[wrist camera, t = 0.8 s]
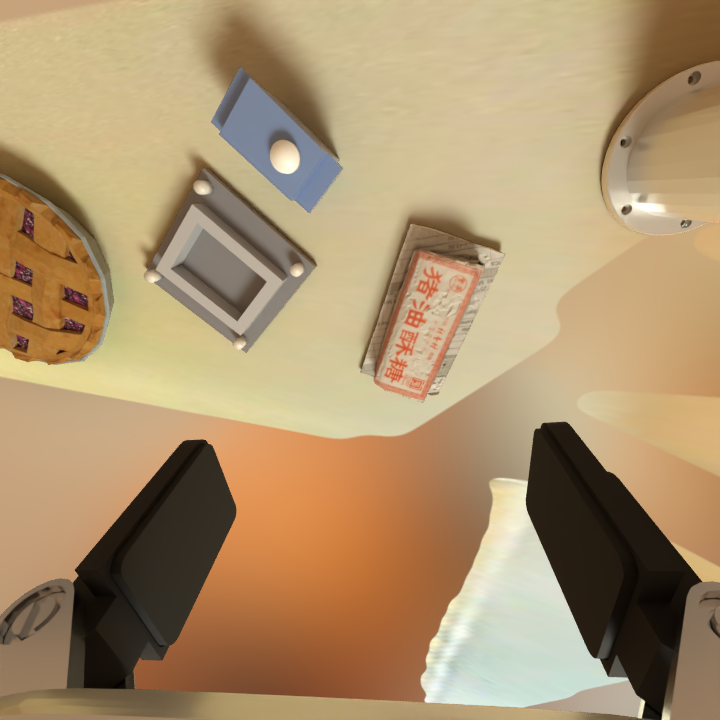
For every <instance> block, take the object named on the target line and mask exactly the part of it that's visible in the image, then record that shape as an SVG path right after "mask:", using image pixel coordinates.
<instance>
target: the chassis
mask: <svg viewBox="0 0 720 720" xmlns="http://www.w3.org/2000/svg"><path fill="white" fill-rule="evenodd" d="M316 266H317V265H316V264H315V263H314V262H313V261H312V260H310V259H309V258H308V257H307V256H306V255H305V254H304V253H303V252H301V251H300V250H299V249H298V248H297V247H296V246H295V245H294V244H292V243H291V242H290V241H289V240H288V239H287V238H286V237H285V236H283V235H282V234H281V233H280V232H279V231H278V230H277V229H276V228H274V227H273V226H272V225H271V224H270V223H269V222H268V221H267V220H265V219H264V218H263V217H262V216H261V215H260V214H259V213H258V212H256V211H255V210H254V209H253V208H252V207H251V206H250V205H249V204H247V203H246V202H245V201H244V200H243V199H242V198H241V197H240V196H238V195H237V194H236V193H235V192H234V191H233V190H232V189H231V188H229V187H228V186H227V185H226V184H225V183H224V182H223V181H222V180H220V179H219V178H218V177H217V176H216V175H215V174H214V173H213V172H211V171H210V170H209V169H207V168H203V169H202V171H201V173H200V175H199V176H198V178H197V180H196V181H195V183H194V186H193V187H192V189H191V191H190V193H189V195H188V196H187V198H186V200H185V202H184V204H183V206H182V207H181V209H180V211H179V213H178V215H177V216H176V218H175V220H174V222H173V224H172V226H171V227H170V229H169V231H168V233H167V235H166V237H165V238H164V240H163V242H162V244H161V246H160V247H159V249H158V251H157V253H156V255H155V257H154V258H153V260H152V262H151V264H150V266H149V268H148V269H147V271H146V273H145V274H144V278H145V280H146V281H147V282H149V283H153V282H154V283H156V284H157V285H158V286H159V287H161V288H162V289H163V290H165V291H166V292H167V293H169V294H170V295H171V296H172V297H174V298H175V299H176V300H178V301H179V302H180V303H182V304H183V305H184V306H186V307H187V308H188V309H189V310H191V311H192V312H193V313H195V314H196V315H197V316H199V317H200V318H201V319H202V320H204V321H205V322H206V323H208V324H209V325H210V326H212V327H213V328H214V329H215V330H217V331H218V332H219V333H221V334H222V335H223V336H225V337H226V338H227V339H229V340H230V341H231V342H232V343H233V347H234V348H235V349H237V350H241V349H242V350H243V351H244V352H245V353H246V352H247V351H248V350H249V349H250V348H251V347H252V345H253V344H254V343H255V342H256V340H257V339H258V338H259V337H260V336H261V334H262V333H263V332H264V331H265V329H266V328H267V327H268V326H269V324H270V323H271V322H272V321H273V319H274V318H275V317H276V316H277V315H278V313H279V312H280V311H281V310H282V308H283V307H284V306H285V305H286V303H287V302H288V301H289V300H290V298H291V297H292V296H293V295H294V293H295V292H296V291H297V290H298V289H299V287H300V286H301V285H302V284H303V282H304V281H305V280H306V279H307V277H308V276H309V275H310V274H311V272H312V271H313V270H314V269H315V267H316Z"/></svg>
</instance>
